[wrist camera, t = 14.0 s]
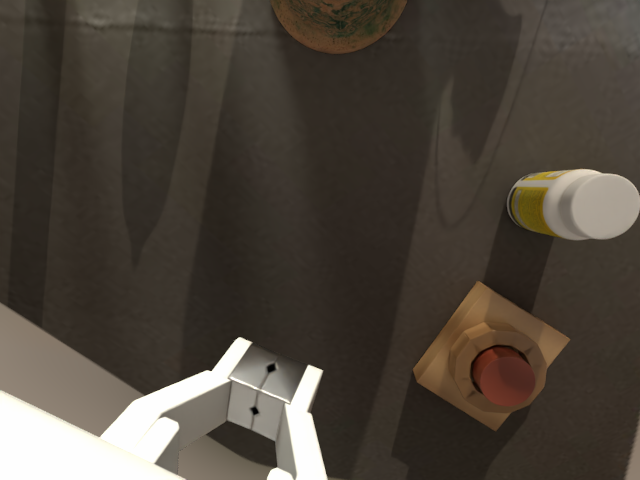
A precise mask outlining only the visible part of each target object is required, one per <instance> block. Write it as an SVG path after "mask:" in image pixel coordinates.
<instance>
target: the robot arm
mask: <svg viewBox="0 0 640 480" xmlns="http://www.w3.org/2000/svg"><path fill="white" fill-rule="evenodd" d="M322 374H323V370H321V369H318V368H315V367H313V366H310V365H308V364H306V363H303V362H300V361H298V360H295V359H293V358H290V357H287V356H285V355H282V354H279V353H276V352H274V351H272V350H269V349H267V348H265V347H262V346H260V345H258V344H255V343H252V342H250V341H248V340H245V339H243V338H241V337H239V338H237V339H236V340H235V341H234V343H233V344H232V345H231V346H230V348H229V349H228V350H227V352H226V353H225V354H224V356H223V357H222V358H221V360H220V361H219V362H218V364H217V365H216V366H215V367H214V369H213V370H212V371H208V370H206V371H204V372H202V373H199V374H197V375H194V376H192V377H190V378H187V379H185V380H182V381H180V382H178V383H175V384H173V385H170V386H168V387H166V388H163V389H161V390H159V391H156V392H154V393H151V394H149V395H147V396H144V397H142V398H139V399H137V400H135V401H133V402H132V403H131V404H130V405H129V407H128V408H127V409H126V410H125V411H124V412H123V413H122V414H121V415H120V416H119V417H118V418H117V419H116V421H115V422H114V423H113V424H112V425H111V426H110V427H109V428H108V429H107V430H106V431H105V432H104V433H103V435H102V436H101V437H100V438H99V437H97V436H95V435H93V434H91V433H89V432H87V431H85V430H83V429H81V428H79V427H77V426H74V425H72V424H70V423H68V422H66V421H64V420H62V419H60V418H58V417H55V416H54V415H51V414H50V413H47V412H45V411H43V410H41V409H39V408H37V407H35V406H33V405H31V404H29V403H26V402H25V401H23V400H21V399H18V398H16V397H14V396H12V395H10V394H8V393H6V392H4V391H2V390H0V480H187V479H184V478H183V477H180V476H178V452H179V451H180V450H182V449H183V448H185V447H187V446H188V445H190V444H191V443H193V442H194V441H196V440H198V439H199V438H201V437H202V436H204V435H205V434H207V433H209V432H210V431H212V430H213V429H215V428H216V427H218V426H219V425H221V424H223V423H224V422H226V420H228V421H231V422H233V423H236V424H238V425H241V426H243V427H246V428H248V429H250V430H253V431H255V432H257V433H259V434H261V435H263V436H265V437H267V438H269V439H271V440H274V441H276V442H275V446H276V456H277V467H278V468H275V469H272V470H271V471H270V473H269V475H268V477H267V480H327V476H326V472H325V467H324V463H323V459H322V455H321V451H320V447H319V443H318V439H317V434H316V430H315V426H314V422H313V418H312V414H310V412H311V409H312V406H313V403H314V400H315V397H316V394H317V390H318V387H319V384H320V381H321V377H322Z"/></svg>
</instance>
